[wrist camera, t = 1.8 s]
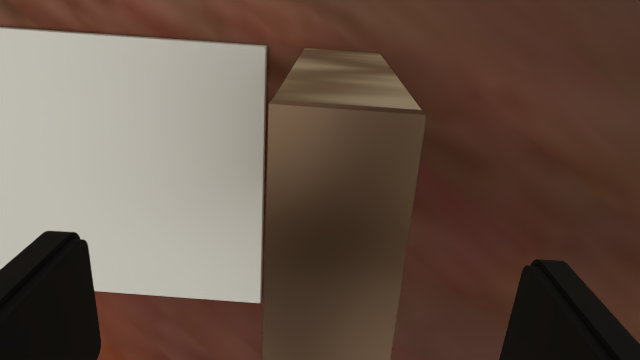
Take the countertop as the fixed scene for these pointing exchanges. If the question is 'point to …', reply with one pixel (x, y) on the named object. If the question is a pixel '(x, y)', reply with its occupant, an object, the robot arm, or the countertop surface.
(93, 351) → the robot arm
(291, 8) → the countertop surface
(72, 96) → the mat
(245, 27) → the countertop surface
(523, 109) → the countertop surface
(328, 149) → the slab
